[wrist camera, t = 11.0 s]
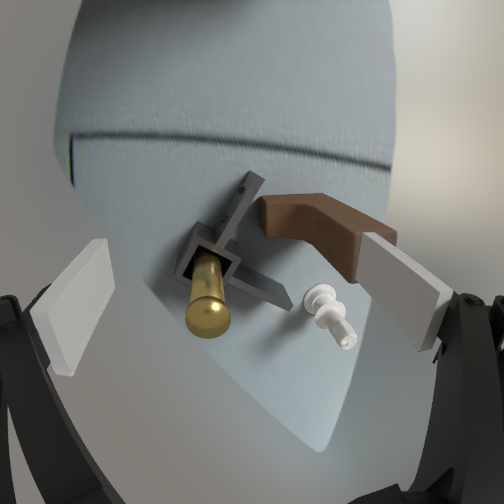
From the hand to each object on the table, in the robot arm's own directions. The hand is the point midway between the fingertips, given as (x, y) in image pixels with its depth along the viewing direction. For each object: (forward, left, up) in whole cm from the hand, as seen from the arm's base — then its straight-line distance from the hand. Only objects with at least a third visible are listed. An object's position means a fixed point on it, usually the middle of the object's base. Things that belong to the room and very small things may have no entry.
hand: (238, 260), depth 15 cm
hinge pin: (+8, -2, -24) cm, 26 cm away
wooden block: (+3, +10, -25) cm, 27 cm away
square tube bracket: (+7, +4, -24) cm, 26 cm away
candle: (+17, +15, -25) cm, 33 cm away
